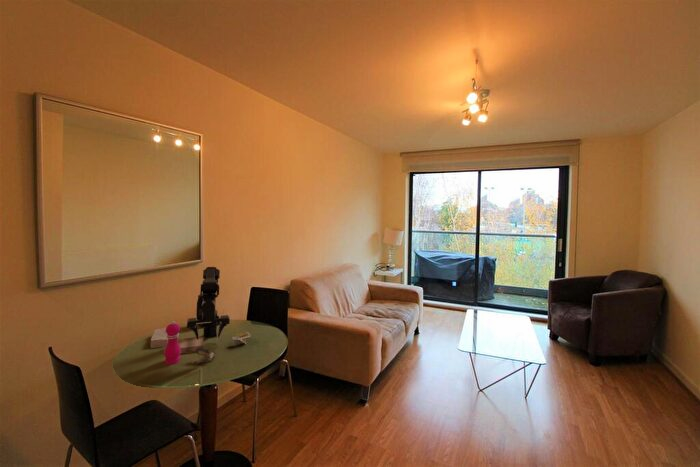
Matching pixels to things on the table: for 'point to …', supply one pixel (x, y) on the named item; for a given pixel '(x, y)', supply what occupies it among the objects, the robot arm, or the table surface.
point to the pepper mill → (172, 344)
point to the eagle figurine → (205, 353)
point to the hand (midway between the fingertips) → (208, 338)
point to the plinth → (190, 344)
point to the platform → (241, 338)
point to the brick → (159, 338)
